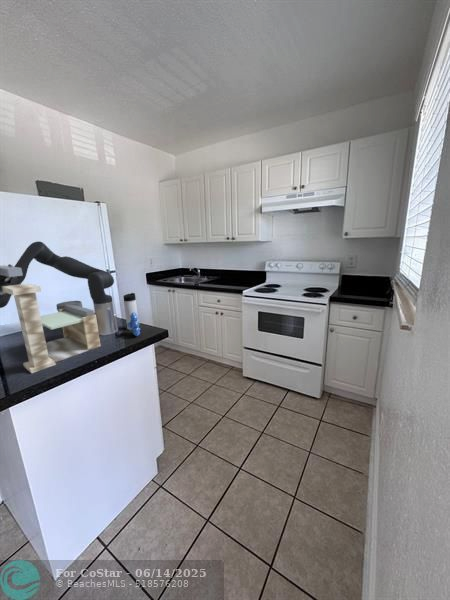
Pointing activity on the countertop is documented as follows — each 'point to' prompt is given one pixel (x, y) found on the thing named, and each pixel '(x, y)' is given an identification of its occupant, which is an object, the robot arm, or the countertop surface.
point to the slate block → (10, 271)
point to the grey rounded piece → (61, 305)
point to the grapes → (134, 324)
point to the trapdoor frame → (75, 339)
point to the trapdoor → (66, 317)
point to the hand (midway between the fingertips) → (3, 266)
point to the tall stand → (31, 326)
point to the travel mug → (130, 306)
